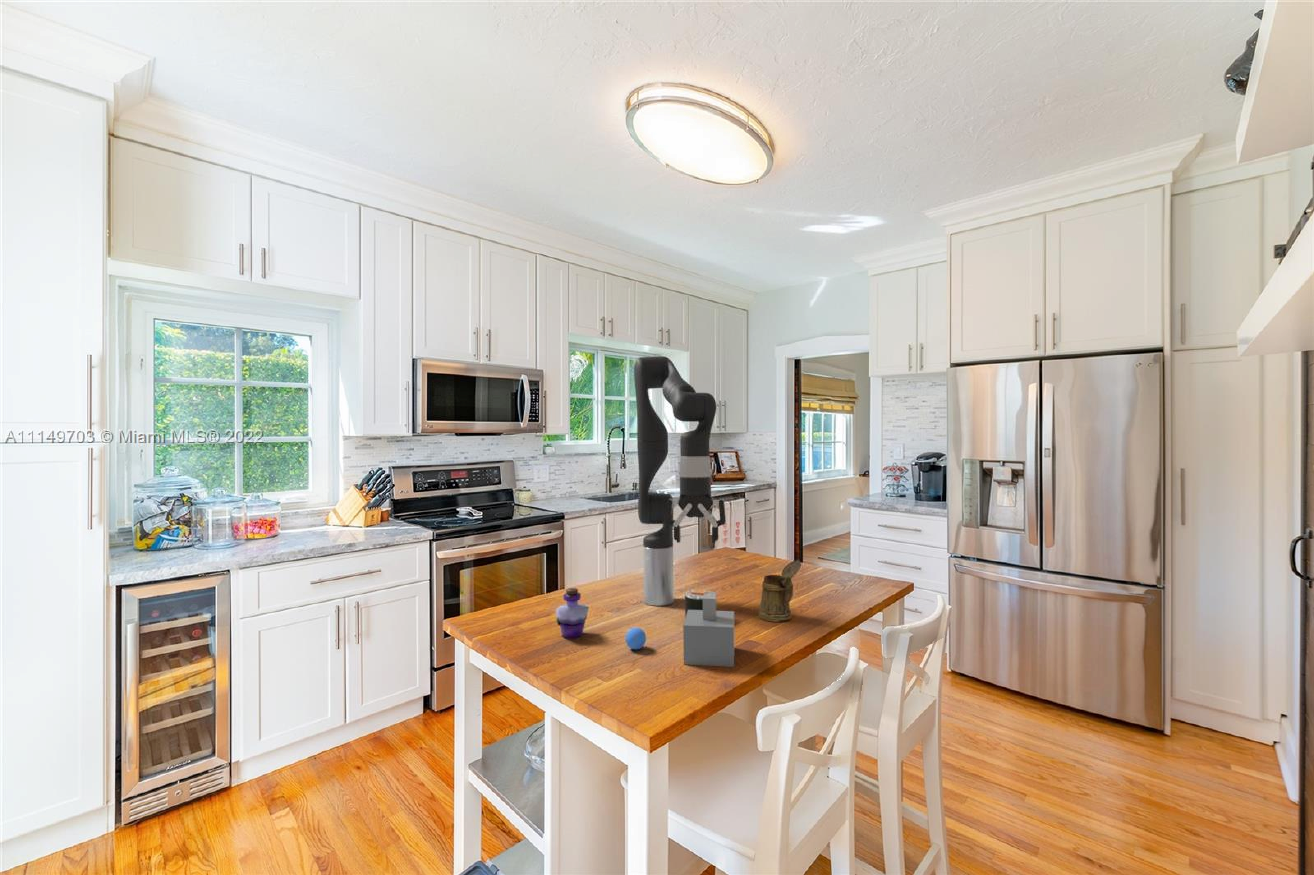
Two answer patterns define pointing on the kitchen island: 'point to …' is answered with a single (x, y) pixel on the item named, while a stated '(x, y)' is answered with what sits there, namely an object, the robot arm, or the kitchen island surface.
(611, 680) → the kitchen island surface
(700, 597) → the sushi
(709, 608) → the grey block
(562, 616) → the potion bottle
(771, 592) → the wooden mug
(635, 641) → the ball
